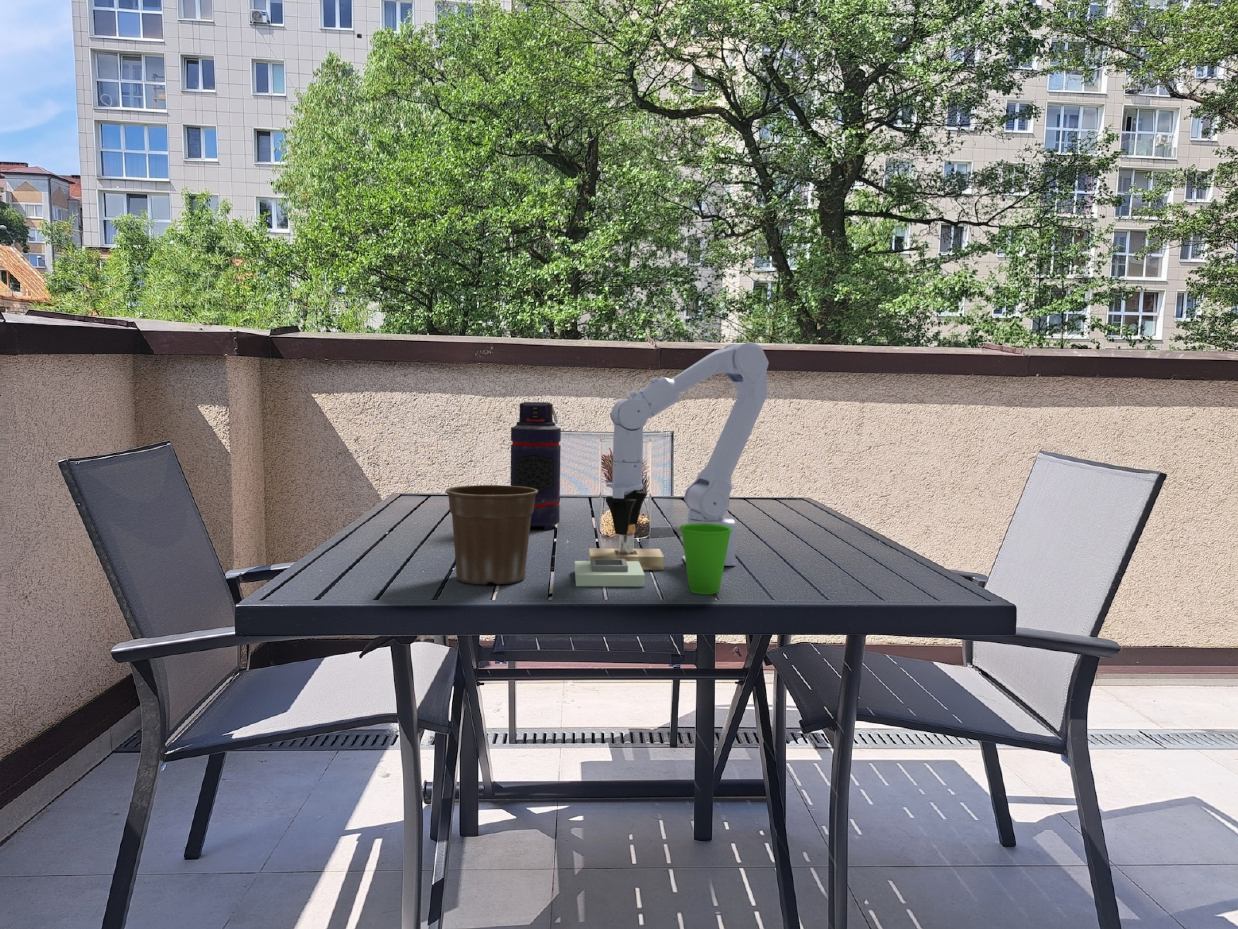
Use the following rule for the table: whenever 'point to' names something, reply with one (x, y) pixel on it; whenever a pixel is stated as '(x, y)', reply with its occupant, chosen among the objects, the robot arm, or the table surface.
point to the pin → (627, 542)
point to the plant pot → (491, 532)
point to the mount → (632, 557)
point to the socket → (609, 573)
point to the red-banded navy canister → (538, 460)
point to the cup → (705, 555)
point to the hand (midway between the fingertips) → (625, 531)
